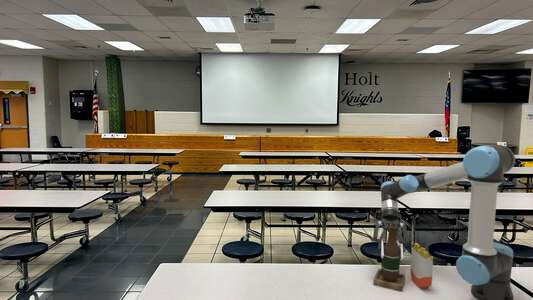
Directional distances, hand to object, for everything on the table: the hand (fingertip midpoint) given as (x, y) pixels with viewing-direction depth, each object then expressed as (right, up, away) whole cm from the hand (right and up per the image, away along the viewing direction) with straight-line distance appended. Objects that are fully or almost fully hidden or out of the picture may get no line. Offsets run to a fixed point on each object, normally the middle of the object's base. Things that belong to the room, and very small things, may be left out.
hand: (392, 257), depth 155 cm
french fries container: (+14, -13, +3) cm, 19 cm away
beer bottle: (+1, -10, +5) cm, 11 cm away
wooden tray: (+1, -13, +5) cm, 13 cm away
